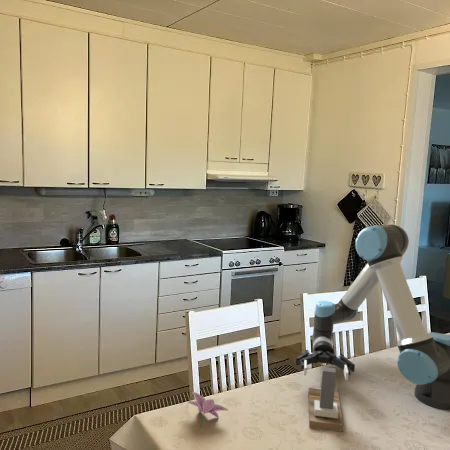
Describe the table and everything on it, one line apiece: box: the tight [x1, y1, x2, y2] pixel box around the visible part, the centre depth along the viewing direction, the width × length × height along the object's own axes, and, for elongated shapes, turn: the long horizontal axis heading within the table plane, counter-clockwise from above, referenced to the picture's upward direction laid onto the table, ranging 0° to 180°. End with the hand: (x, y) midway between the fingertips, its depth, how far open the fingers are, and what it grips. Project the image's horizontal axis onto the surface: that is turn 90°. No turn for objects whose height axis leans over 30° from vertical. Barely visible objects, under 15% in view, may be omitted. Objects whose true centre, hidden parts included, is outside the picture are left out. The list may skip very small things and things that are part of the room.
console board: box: [307, 387, 344, 432], centre depth 151 cm, size 22×10×2 cm, turn 171°
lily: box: [187, 391, 229, 429], centre depth 141 cm, size 12×12×10 cm
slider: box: [314, 366, 338, 419], centre depth 145 cm, size 6×7×14 cm
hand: (326, 374), depth 154 cm, fingers open, 13 cm apart
